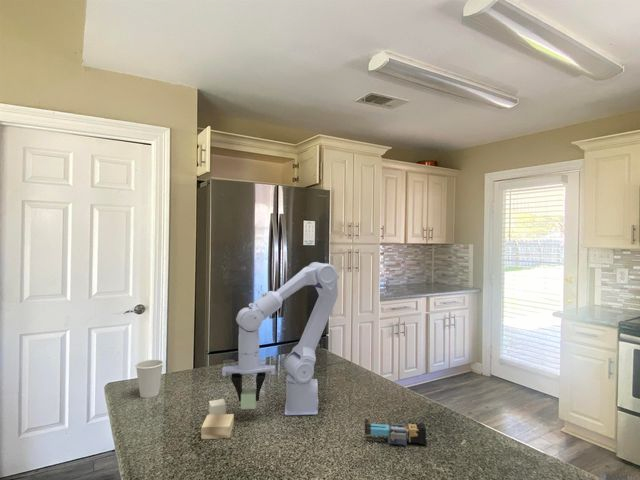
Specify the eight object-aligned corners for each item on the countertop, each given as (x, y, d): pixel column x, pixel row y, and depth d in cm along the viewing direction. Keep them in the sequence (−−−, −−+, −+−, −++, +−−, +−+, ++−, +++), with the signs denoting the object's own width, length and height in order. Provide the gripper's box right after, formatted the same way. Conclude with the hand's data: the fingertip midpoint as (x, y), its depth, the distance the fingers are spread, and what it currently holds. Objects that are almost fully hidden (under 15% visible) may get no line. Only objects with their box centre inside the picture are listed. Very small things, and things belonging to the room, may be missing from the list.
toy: (365, 416, 100) (424, 420, 98) (365, 433, 100) (424, 438, 98) (364, 426, 94) (427, 431, 92) (364, 445, 94) (427, 450, 92)
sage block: (257, 402, 110) (257, 388, 110) (255, 408, 106) (255, 394, 106) (242, 402, 110) (242, 388, 109) (240, 409, 106) (240, 394, 106)
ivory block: (223, 412, 112) (223, 398, 112) (225, 418, 108) (225, 404, 108) (209, 415, 110) (209, 401, 110) (211, 421, 106) (211, 406, 106)
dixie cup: (164, 388, 130) (164, 358, 130) (162, 397, 122) (162, 366, 122) (137, 390, 127) (137, 360, 127) (133, 401, 119) (133, 368, 119)
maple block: (233, 425, 104) (233, 413, 104) (229, 438, 97) (229, 426, 97) (207, 425, 103) (207, 414, 103) (201, 439, 96) (201, 427, 96)
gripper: (275, 346, 112) (275, 393, 112) (225, 347, 111) (225, 394, 111) (274, 354, 105) (274, 403, 105) (220, 355, 104) (220, 405, 104)
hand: (249, 399), depth 108 cm, fingers closed on sage block, 4 cm apart
